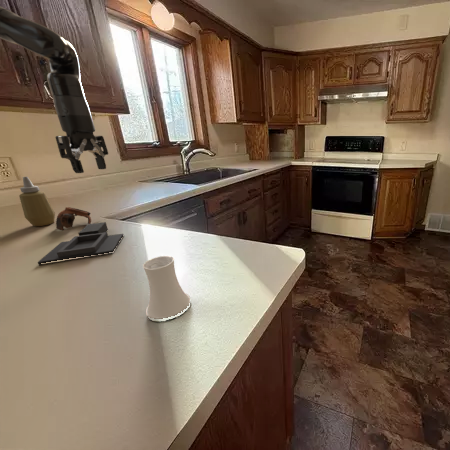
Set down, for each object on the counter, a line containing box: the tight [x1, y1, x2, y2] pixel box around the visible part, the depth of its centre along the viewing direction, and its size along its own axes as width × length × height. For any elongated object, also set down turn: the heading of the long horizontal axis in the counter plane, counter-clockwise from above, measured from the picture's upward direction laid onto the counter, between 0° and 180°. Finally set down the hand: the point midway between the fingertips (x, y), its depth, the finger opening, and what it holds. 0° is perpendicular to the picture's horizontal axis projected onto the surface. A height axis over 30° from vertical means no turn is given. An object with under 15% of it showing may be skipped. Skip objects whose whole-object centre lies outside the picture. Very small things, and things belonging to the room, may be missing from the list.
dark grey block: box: [78, 221, 109, 236], centre depth 81 cm, size 5×9×3 cm, turn 24°
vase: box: [142, 255, 191, 319], centre depth 45 cm, size 8×8×10 cm
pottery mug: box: [55, 206, 92, 231], centre depth 89 cm, size 12×10×8 cm
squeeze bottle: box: [18, 176, 56, 227], centre depth 90 cm, size 8×8×18 cm
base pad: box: [37, 231, 124, 264], centre depth 72 cm, size 16×14×2 cm
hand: (91, 171), depth 77 cm, fingers open, 8 cm apart
